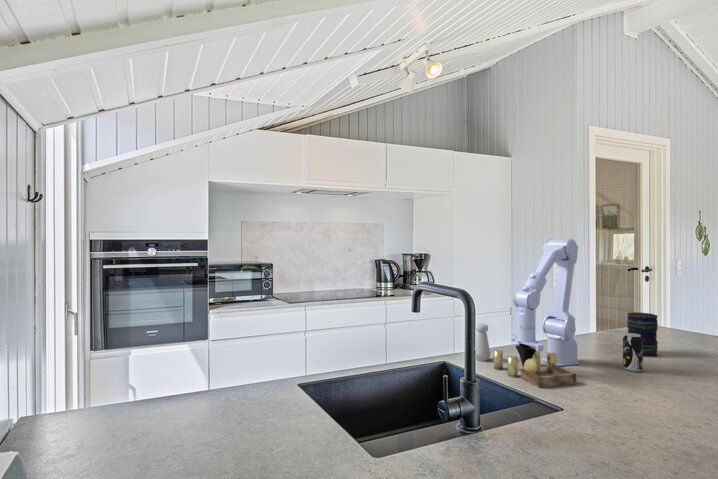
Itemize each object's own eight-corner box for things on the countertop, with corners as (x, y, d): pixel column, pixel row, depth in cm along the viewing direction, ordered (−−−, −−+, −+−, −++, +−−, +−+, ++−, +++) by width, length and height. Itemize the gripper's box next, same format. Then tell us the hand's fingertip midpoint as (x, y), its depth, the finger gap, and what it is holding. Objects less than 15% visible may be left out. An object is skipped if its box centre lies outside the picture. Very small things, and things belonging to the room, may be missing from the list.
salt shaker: (488, 357, 164) (488, 322, 163) (491, 362, 158) (491, 326, 158) (472, 357, 164) (472, 322, 164) (475, 361, 159) (475, 325, 158)
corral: (555, 374, 144) (555, 365, 144) (575, 383, 135) (575, 373, 135) (521, 378, 140) (521, 369, 140) (539, 387, 131) (539, 377, 131)
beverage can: (639, 373, 144) (639, 337, 144) (620, 369, 149) (620, 334, 149) (645, 370, 148) (645, 334, 148) (626, 366, 152) (626, 331, 152)
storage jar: (657, 352, 170) (657, 313, 170) (658, 358, 162) (658, 318, 162) (627, 348, 175) (627, 311, 175) (626, 354, 167) (626, 315, 167)
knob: (534, 377, 141) (534, 361, 141) (521, 372, 146) (521, 357, 146) (544, 374, 143) (544, 359, 143) (531, 370, 148) (531, 355, 148)
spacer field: (536, 363, 156) (536, 346, 156) (558, 372, 146) (558, 354, 146) (492, 367, 151) (492, 350, 151) (511, 377, 141) (511, 358, 141)
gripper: (503, 323, 153) (503, 362, 154) (529, 332, 139) (529, 374, 140) (520, 322, 155) (520, 360, 155) (548, 330, 141) (548, 372, 141)
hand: (526, 367), depth 148 cm, fingers closed
